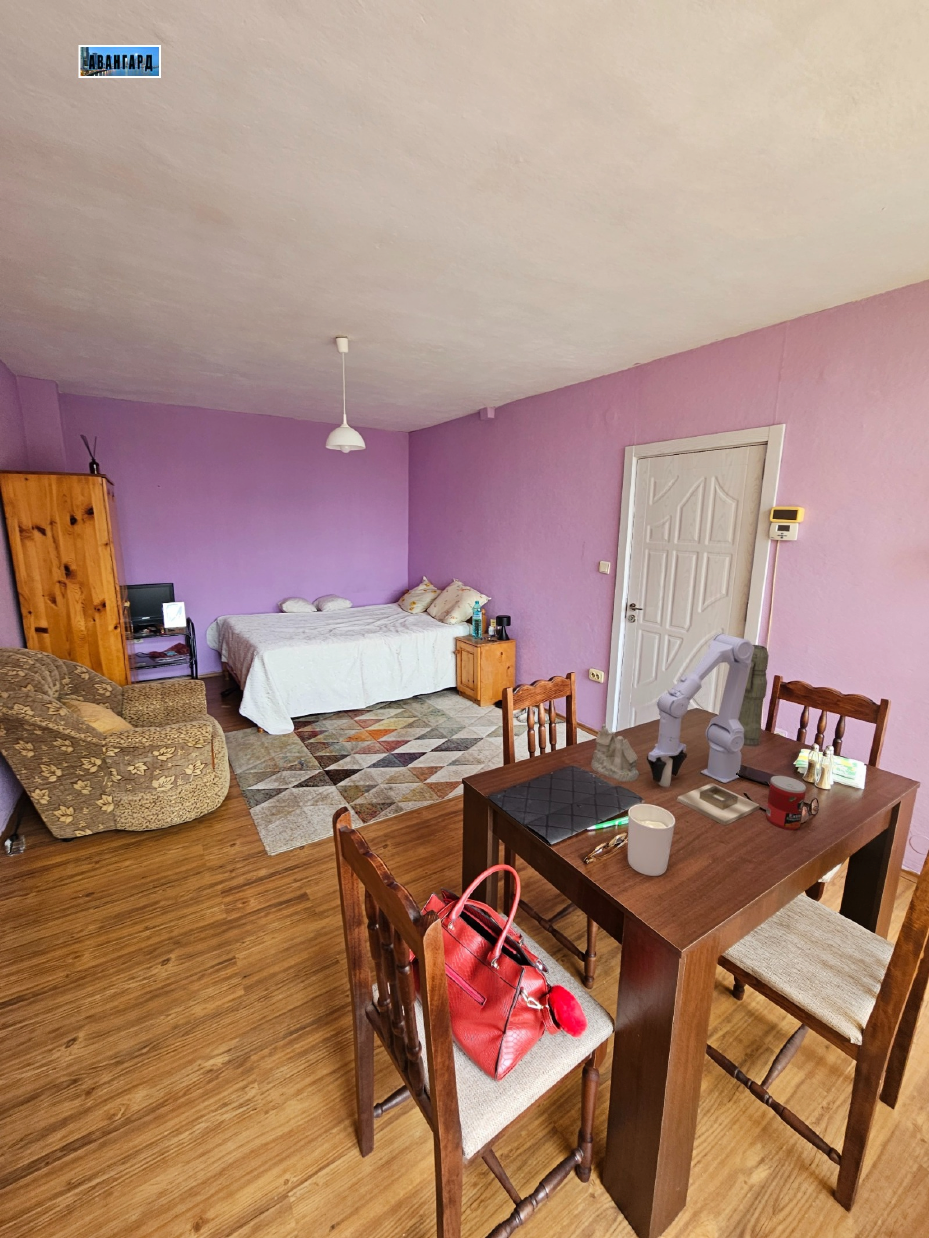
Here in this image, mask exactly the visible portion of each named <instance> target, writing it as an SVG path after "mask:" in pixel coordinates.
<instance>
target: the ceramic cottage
mask: <svg viewBox="0 0 929 1238" xmlns="http://www.w3.org/2000/svg"><path fill="white" fill-rule="evenodd" d="M606 726H607V725H606V724H605V723H603V724H602V725H601V729H598V733H597V736H596V738H595V750H594V751H593V756H592V760H591V763H590V767H591V768H592V769H593V770H594V771H595V772H597V773H599V774H601V775H604V776H607V777H609V778H612V779H614V780H616V781H620V782H633V781H635V780H636V779H637V778H638V777H639V775H640V774H639V770H637V765H638V762H637V760H638V755H637V753H636V752H635V751H634V750H633V748H632V746H631V745H630V742H629V741H628V739H624V737H623V736H622V735H619V736H617V737H616V736H615V735H616V733H615V731H610V732H609V729H608V728H607V727H606Z"/></svg>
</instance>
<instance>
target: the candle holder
mask: <svg viewBox="0 0 929 1238" xmlns="http://www.w3.org/2000/svg"><path fill="white" fill-rule="evenodd" d="M627 812H628V813H627V815H628V821H627V822H628V827H627V829H628V830H627V831H628V832H627V834H628V835H627V862H628V864H629V866H630V867H631V868H632V869H633V870H634V871H636V872H638V873H640V874H642V875H645V876H649V877H650V876H651V877H658V876H661V875H664V874H665V873H666V871H667V869H668V865H669V859H670V853H671V848H672V842H673V835H674V829H675V825H676V818H675V816H674V815H673V814H672V813H671V812H670V811H669V810H667V809H666V808H663V807H661V806H658V805H654V804H649V803H638V804H635V805H632V806H631V807H630V808H629V809H628V811H627Z"/></svg>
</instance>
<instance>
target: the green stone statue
mask: <svg viewBox="0 0 929 1238" xmlns="http://www.w3.org/2000/svg"><path fill="white" fill-rule="evenodd" d="M752 645H753V647H754V651H753V655H752V659H751V667H750V671H749V676H748V680H747V684H746V688H745V693H744V697H743V701H742V706H741V710H740V714H739V718H738V721H739V722H740V724H741V725H742V727H743V728H744V744H743V746H747V747H755V746H756V747H757V746H759V745H760V738H761V737H762V723H761V721H762V714H763V708H764V707H763V706H764V699H765V698H766V696H767V685H768V680H767V679H768V678H767V669H768V664H769V658H770V657H769V656H770V655H769V652H768V648H767V647H765V646H764V645H759V644H752Z"/></svg>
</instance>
